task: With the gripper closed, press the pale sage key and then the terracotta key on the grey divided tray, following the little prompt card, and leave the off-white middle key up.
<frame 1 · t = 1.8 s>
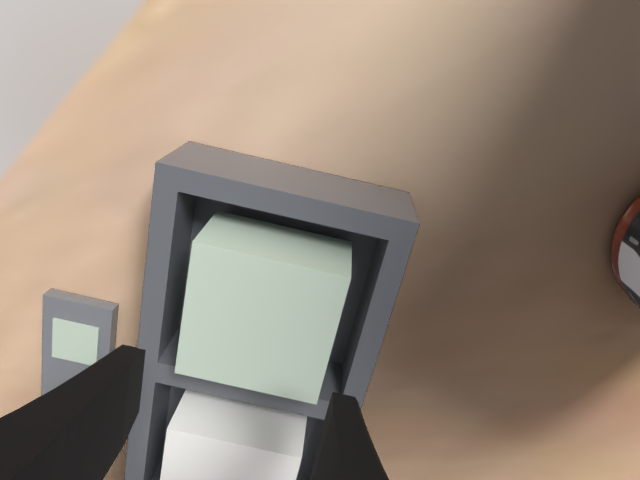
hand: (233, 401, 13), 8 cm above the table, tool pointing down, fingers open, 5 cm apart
sage key: (265, 305, 18), point 3 cm above the table, slide at 0.0 cm
prompt card: (80, 370, 24), on the table
grey divided tray: (249, 407, 24), on the table
white key: (233, 462, 21), point 3 cm above the table, slide at 0.0 cm
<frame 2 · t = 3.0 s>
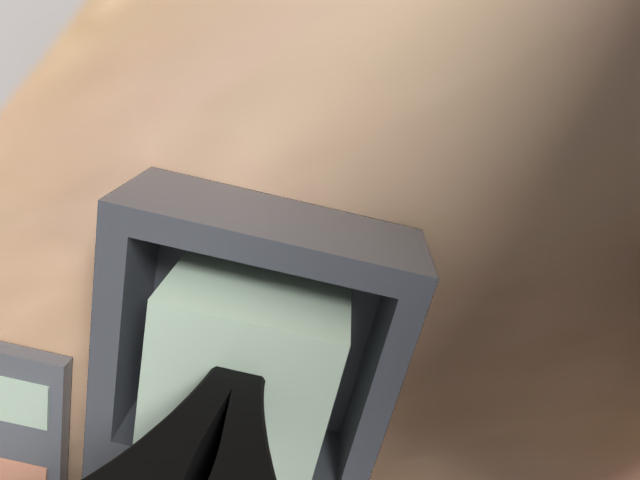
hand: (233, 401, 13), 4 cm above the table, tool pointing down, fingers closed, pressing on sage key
sage key: (245, 368, 15), point 3 cm above the table, slide at 0.3 cm, touching gripper
prompt card: (31, 431, 20), on the table
grey divided tray: (230, 475, 20), on the table
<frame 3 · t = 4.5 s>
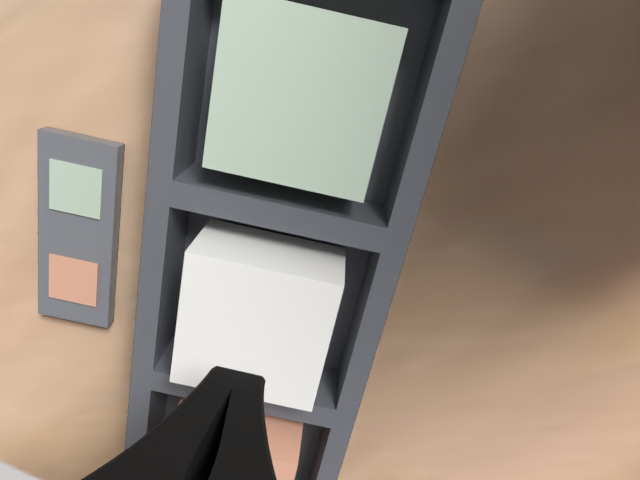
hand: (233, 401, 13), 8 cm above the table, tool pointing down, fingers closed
sage key: (303, 96, 16), point 2 cm above the table, slide at 0.8 cm, touching grey divided tray
prompt card: (82, 231, 21), on the table
grey divided tray: (273, 272, 21), on the table
white key: (260, 313, 18), point 3 cm above the table, slide at 0.0 cm
terracotta key: (230, 468, 21), point 3 cm above the table, slide at 0.0 cm
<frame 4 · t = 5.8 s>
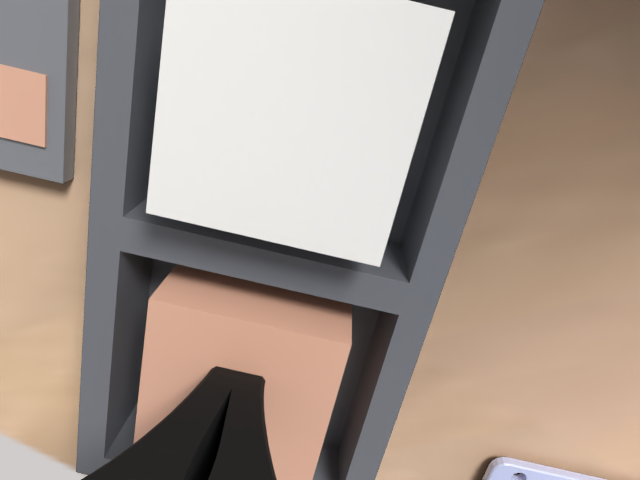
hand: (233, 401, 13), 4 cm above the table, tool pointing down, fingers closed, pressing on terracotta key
prompt card: (25, 28, 14), on the table
grey divided tray: (308, 95, 14), on the table
white key: (295, 111, 11), point 3 cm above the table, slide at 0.0 cm
terracotta key: (246, 368, 15), point 3 cm above the table, slide at 0.8 cm, touching gripper
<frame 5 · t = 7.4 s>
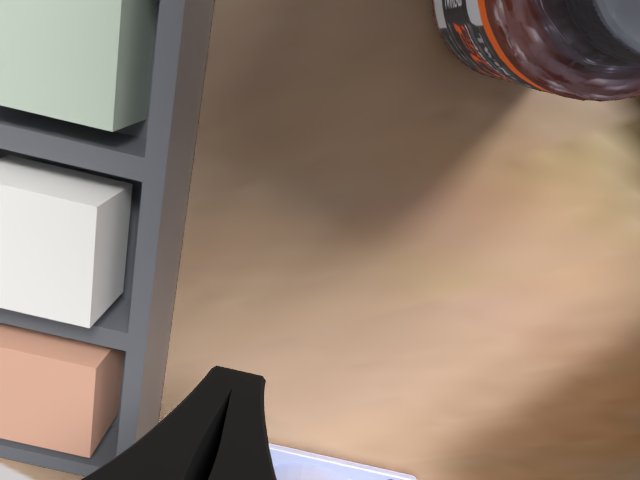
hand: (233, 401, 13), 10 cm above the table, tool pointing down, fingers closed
sage key: (66, 37, 18), point 2 cm above the table, slide at 0.8 cm, touching grey divided tray
grey divided tray: (89, 212, 23), on the table
white key: (48, 239, 20), point 3 cm above the table, slide at 0.0 cm
terracotta key: (54, 380, 23), point 2 cm above the table, slide at 0.8 cm, touching grey divided tray
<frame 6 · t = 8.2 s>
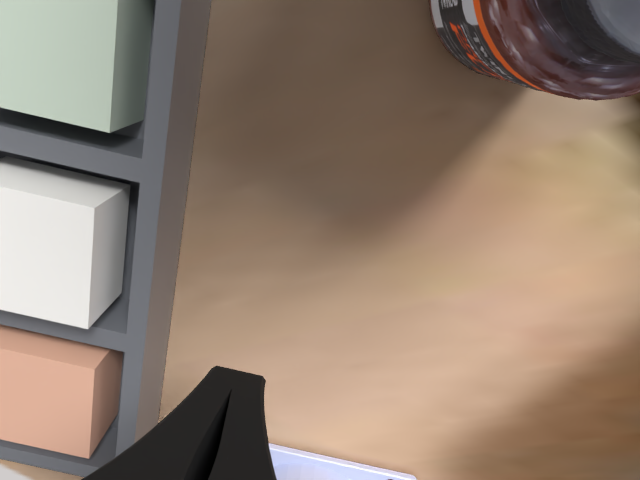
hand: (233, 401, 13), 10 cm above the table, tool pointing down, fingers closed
sage key: (62, 38, 18), point 2 cm above the table, slide at 0.8 cm, touching grey divided tray
grey divided tray: (88, 213, 23), on the table
white key: (46, 240, 20), point 3 cm above the table, slide at 0.0 cm
terracotta key: (53, 381, 23), point 2 cm above the table, slide at 0.8 cm, touching grey divided tray
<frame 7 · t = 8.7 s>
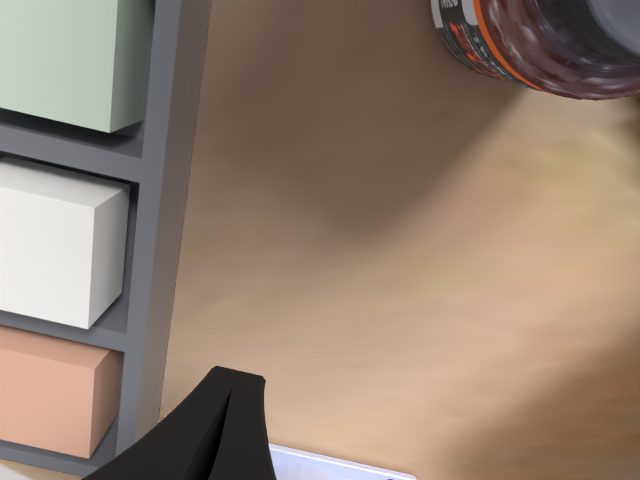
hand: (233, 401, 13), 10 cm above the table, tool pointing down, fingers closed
sage key: (62, 38, 18), point 2 cm above the table, slide at 0.8 cm, touching grey divided tray
grey divided tray: (88, 213, 23), on the table
white key: (46, 240, 20), point 3 cm above the table, slide at 0.0 cm
terracotta key: (53, 381, 23), point 2 cm above the table, slide at 0.8 cm, touching grey divided tray
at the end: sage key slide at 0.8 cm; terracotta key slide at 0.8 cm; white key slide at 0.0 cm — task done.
